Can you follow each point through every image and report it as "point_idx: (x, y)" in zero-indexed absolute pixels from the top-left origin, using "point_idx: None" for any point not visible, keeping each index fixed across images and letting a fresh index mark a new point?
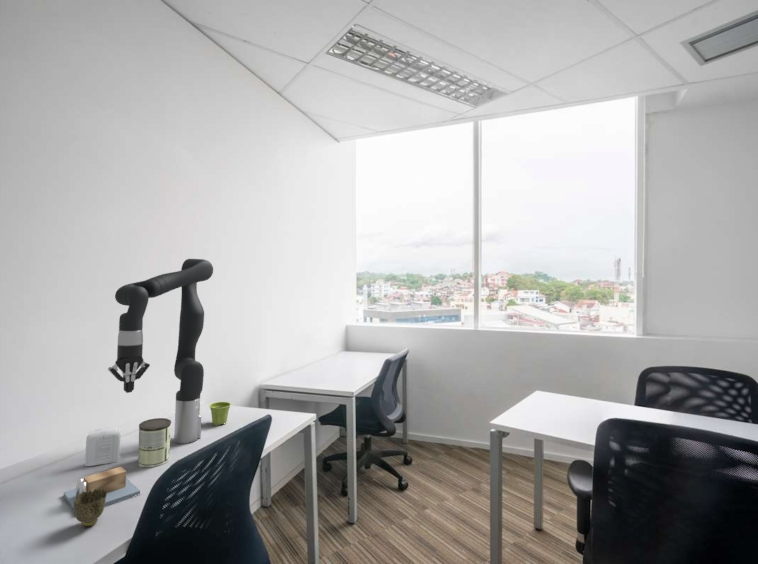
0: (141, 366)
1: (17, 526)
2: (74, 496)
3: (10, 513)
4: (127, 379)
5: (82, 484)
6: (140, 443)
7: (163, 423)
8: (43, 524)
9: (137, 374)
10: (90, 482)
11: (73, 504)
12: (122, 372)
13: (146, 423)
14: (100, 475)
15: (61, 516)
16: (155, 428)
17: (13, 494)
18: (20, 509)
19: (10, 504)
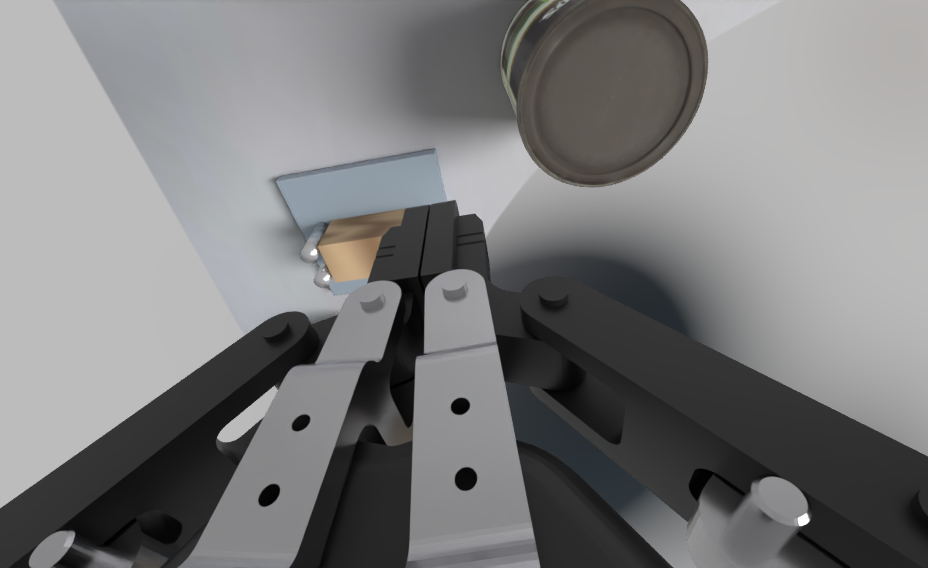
0: (692, 559)
1: (223, 266)
2: (312, 224)
3: (175, 200)
4: (399, 389)
5: (321, 286)
6: (511, 100)
7: (642, 131)
8: (275, 284)
9: (578, 334)
10: (340, 281)
11: (318, 261)
12: (282, 403)
13: (568, 69)
14: (362, 258)
15: (303, 273)
16: (575, 184)
17: (111, 71)
18: (191, 192)
19: (145, 146)
